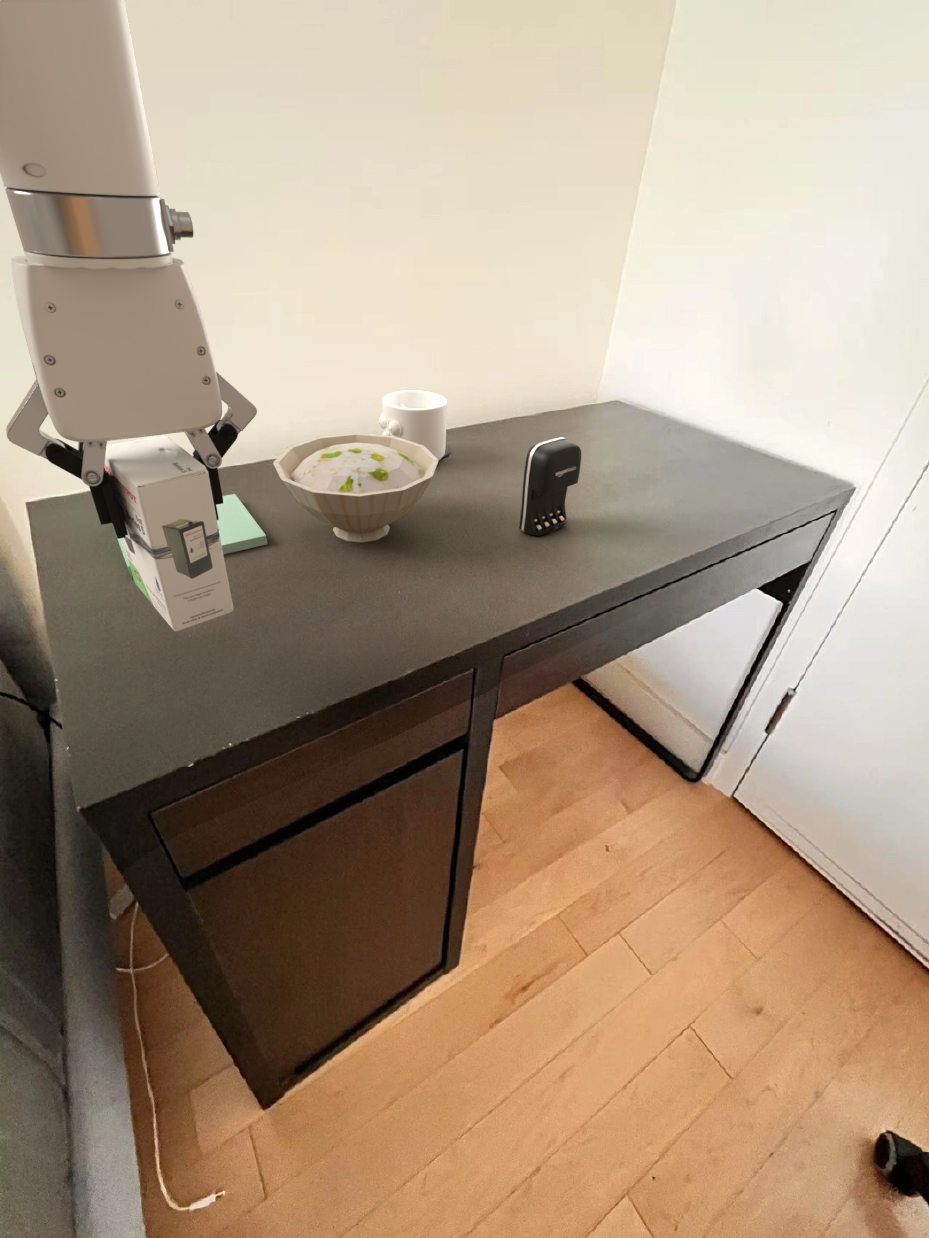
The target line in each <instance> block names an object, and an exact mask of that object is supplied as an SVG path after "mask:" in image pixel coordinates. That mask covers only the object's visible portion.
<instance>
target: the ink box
mask: <svg viewBox="0 0 929 1238" xmlns="http://www.w3.org/2000/svg"><path fill="white" fill-rule="evenodd" d="M104 468H105V470H106V472H109V474H110V477H111V479H112V482H113V484H114V487H115V490H116V494H117V497H118V501H119V504H120V508H121V511H122V515H123V519H124V522H125V526H126V529H127V533H128V535H125V538H122V540H123V544H124V548H125V551H126V554H127V558H128V561H129V565H130V568H131V572H132V578H133V582H134V584H135V585H136V587H137V588H138V589H139V590H140V591H141V592H142V594H143V595H144V596H145V598H147V600H148V601H149V602H150V604H151V605H152V606H153V608H155V609H156V611H157V612H158V614H159V615H160V616H161V617H162V618H163V620H165V622H166V623H167V624H168V625H169V627H170V628H171V629H172V630H173V632H174V633H175V632H176V633H177V632H179V631H182V630H185V629H188V628H190V627H194V626H196V625H199V624H202V623H205V622H207V621H210V620H213V619H216V618H219V617H221V616H225V615H227V614H230V613H233V611H234V610H235V607H234V604H233V599H232V594H231V589H230V588H231V587H230V583H229V578H228V573H227V572H228V571H227V567H226V562H225V556H224V554H223V551H222V545H221V540H220V534H219V529H218V523H217V518H216V512H215V507H214V502H213V496H212V491H211V485H210V480H209V473H208V470H207V469H206V467H205V466H204V465H203V464H201V463H200V462H199V461H198V460H196V459H195V458H194V457H193V455H191V454H190V453H189V452H188V451H187V450H185V449H184V448H183V447H182V446H180V445H179V444H178V443H177V442H176V441H174V440H173V439H172V438H170V436H168V435H155V436H148V437H142V438H138V439H133V440H128V441H123V442H118V443H113V444H107V445H106V455H105V464H104Z"/></svg>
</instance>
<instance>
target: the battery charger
mask: <svg viewBox="0 0 929 1238" xmlns="http://www.w3.org/2000/svg"><path fill="white" fill-rule="evenodd" d="M581 464H582V449H581V447H580V446H579V444H577V443H575V442H573V441H571V440H569V439H568V438H565V437H560V436H559V437H553V438H549V439H545V440H542V441H540V442H539V441H538V442H536V443H534V444H532V446H530V448H529V449H528V451H527V454H526V457H525V464H524V470H523V471H524V472H523V483H522V492H521V494H522V495H521V508H520V509H521V510H520V517H519V525H518V526H519V527H518V528H519V530H521V532H523V533H527V534H529V535H532V536H534V537H538V536H539V537H540V536H543V535H547V534H548V533H551V532H554V531H556V530H558V529H561V528H563V527H565V526H566V525H567V522H568V520H567V519H568V518H567V513H566V512H567V511H566V497H567V493H568V487H570V486H574V485H576V484H578V483H579V477H580V473H581Z"/></svg>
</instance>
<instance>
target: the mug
mask: <svg viewBox="0 0 929 1238" xmlns="http://www.w3.org/2000/svg"><path fill="white" fill-rule="evenodd" d="M381 407H382V411H381V415H380V416H379V419H378V425H379V427H380V428H381V429H382V434H381V435H386V436H395V437H398V438H401V439H405V440H408V441H411V442H414V443H417V444H420V445H423V446H425V447H426V448H427V449H428V450H429V451H430V452H431V453H432V454H433V455H434V456H435V457H436V458H437V459H438V460H439V461H440V460H442V458H443V457H444V456H445V454H446V446H447V413H448V412H447V409H448V402H447V399H446V397H444V396H443V395H441V394H440V393H435V392H431V391H426V390H417V389H416V390H415V389H413V390H409V389H408V390H398V391H394V392H393V391H392V392H390V393H387V394H386V395H384V396H383V397H382V399H381Z"/></svg>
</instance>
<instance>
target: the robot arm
mask: <svg viewBox="0 0 929 1238" xmlns="http://www.w3.org/2000/svg"><path fill="white" fill-rule="evenodd" d="M0 177H1V180H2V184H3V187H4V188H5V193H6V197H7V201H8V203H9V207H10V210H11V213H12V217H13V220H14V223H15V226H16V229H17V233H18V236H19V239H20V243H21V246H22V248H23V249H22V250H23V253H24V255H18V256H13V257H11V258H10V261H11V262H10V263H11V273H12V282H13V288H14V294H15V300H16V305H17V309H18V315H19V318H20V323H21V328H22V331H23V335H24V339H25V342H26V345H27V348H28V352H29V357H30V360H31V364H32V368H33V371H34V374H35V380H34V382H33V383H32V385H31V387H30V389H29V390H28V391H27V392H26V393H27V394H26V395H25V396H24V398H23V400H22V401H21V403H20V404H19V405H18V408H17V409H16V410H15V412H14V414H13V416H11V419H10V421H9V422H8V423H7V425H6V428H5V430H6V439H8V441H9V442H11V443H12V444H13V445H15V446H17V447H20V448H22V449H24V450H25V451H27V452H30V453H32V454H34V455H36V456H39V457H42V458H44V459H46V460H47V461H48V462H49V463H50V464H52V465H54V466H57V467H58V468H59V469H61V470H63V471H65V472H67V473H69V474H71V476H74V477H76V478H78V479H80V480H81V481H82V482H83V484H85V485H86V486H88V487H89V491H90V494H91V497H92V500H93V503H94V506H95V511H96V513H97V517H98V519H99V523H100V525H109V524H111V525H113V526H112V528H114V529H113V531H114V534H115V533H116V534H115V536H117V537H116V539H120V538H125V535H128V533H127V529H126V526H125V522H124V519H123V515H122V511H121V508H120V504H119V501H118V497H117V494H116V490H115V487H114V484H113V482H112V479H111V477H110V474H109V472H106V470H105V468H104V464H105V455H106V446H107V445H108V442H110V441H119V440H128V439H136V438H138V439H139V438H147V437H154V436H164V435H170V434H178V433H184V434H185V436H186V437H187V439H188V441H189V443H190V445H191V446H192V447H193V449H194V450H193V452H192V456H193V457H194V458H195V459H196V460H198V461H199V462H200V463H201V464H203V465H204V466H205V467H206V469H207V470H208V473H209V480H210V485H211V491H212V496H213V502H214V507H215V512H216V518H217V520H219V518H218V512H217V507H216V505H218V504H223V496H224V495H223V492H222V486H221V485H222V484H221V480H220V474H219V467H220V466H221V465H222V463H223V457H224V456H225V455H226V454H227V452H228V451H229V450H230V449H231V447H232V446H233V445H234V443H235V442H236V441H237V439H238V436H239V434H240V433H241V432H243V431H244V429H245V428H246V427H247V426H248V425H249V424H250V423H251V422H252V421H253V420H254V418H255V417H256V416H257V414H258V409H257V407H256V406H255V404H253V403H252V401H250V400H249V399H248V398H247V397H246V396H244V395H243V394H242V393H241V392H240V391H239V390H238V389H236V388H235V386H234V385H232V384H231V383H230V382H229V381H228V380H226V378H224V377H223V376H222V375H221V374H220V373H219V372H217V370H216V366H215V362H214V357H213V353H212V349H211V345H210V342H209V338H208V337H209V336H208V333H207V329H206V326H205V322H204V318H203V315H202V312H201V308H200V305H199V302H198V298H197V295H196V292H195V289H194V287H193V286H194V285H193V283H192V281H191V278H190V275H189V272H188V269H187V267H186V264H185V261H184V260H183V259H180V258H176V257H173V254H172V253H173V252H175V251H174V245H176V241H181V240H182V239H184V238H188V239H190V238H191V239H193V238H194V226H193V220H192V216H191V214H190V213H189V211H177V210H176V208H170V206H169V204H166V202H165V201H166V200H165V199H164V198H161V197H159V196H161V191H160V185H159V180H158V174H157V169H156V163H155V158H154V152H153V147H152V141H151V136H150V130H149V125H148V119H147V114H146V108H145V103H144V98H143V93H142V86H141V82H140V76H139V69H138V65H137V59H136V54H135V47H134V43H133V37H132V33H131V27H130V21H129V17H128V10H127V4H126V0H0ZM222 402H223V403H225V404H226V405H227V411H226V412H225V413H224V416H223V403H222ZM48 416H49V419H50V420H51V422H52V425H53V427H54V429H55V431H56V433H58V435H59V436H60V437H62V438H63V439H66V440H69V441H72V442H76V443H77V448H75V447H73V446H71V445H70V444H68V443H67V442H65V441H64V440H61V439H59V438H55V437H54V436H53V437H52V436H51V435H49V434H48V433H47V432H44V430H43V431H42V429H41V426H42V425H43V423H44V421H45V420H46V419H47V417H48ZM222 416H223V417H222ZM209 427H211V428H210V430H209V431H207V428H209Z"/></svg>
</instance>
